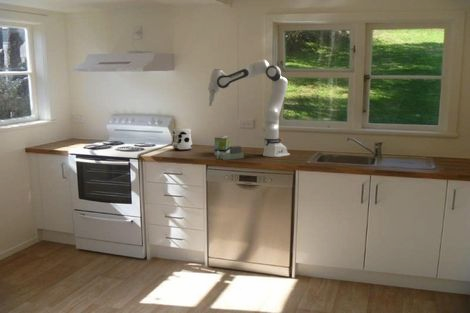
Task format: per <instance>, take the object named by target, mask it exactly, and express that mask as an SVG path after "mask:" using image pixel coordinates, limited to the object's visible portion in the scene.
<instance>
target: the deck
mask: <svg viewBox="0 0 470 313" xmlns="http://www.w3.org/2000/svg"><path fill="white" fill-rule="evenodd" d="M244 158H245V154H244V152H242V146H239V145H235V146H230V153H221V154H220V156H219V151H217V155H216V159H217V160H218V159H220V160H222V159H223V161H225V160H226V161H227V160H236V159H244Z"/></svg>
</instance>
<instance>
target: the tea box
mask: <svg viewBox="0 0 470 313" xmlns="http://www.w3.org/2000/svg"><path fill="white" fill-rule="evenodd" d="M230 147H231V136H230V135H218V136H215V137H214V156H217V151H219V157H220V154H221V153H230Z"/></svg>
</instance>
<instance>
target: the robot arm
mask: <svg viewBox="0 0 470 313" xmlns="http://www.w3.org/2000/svg"><path fill="white" fill-rule="evenodd" d="M263 74H264V75H266V77H267V78H268V79H269V80H271V81H272V82H273V86H272V89H271V93H270V96H269V99H268V103H267V106H266V110H265V113H264V117H265V118H264V140H263V141H264V147H263V148H264V149H263V154H262V156H263V157H270V158H271V157H272V158H273V157H274V158H280V157H286V156H287V157H288V156H290V155H291V153H289V152H288V148H287V146H285V145H284V144H283V143H281V142H283V138H280V136H279V135H280V133H279V131H280V129H279V128H280V120H279V119H280V114H281V112H282V111H281V110H282V107H283V103H284V100H285V96H286V94H287V90H288V84H289V81H288V79H287V78H286V77H284V76H282V69H281V68H280V67H279V66H277V65H274V64H273V65H270V63H269V62H268V61H267V60H266V59H260V60H256V61H253V62H251V63H249V64H248V65H247V64H246V66H244V67H243V68H241V69H239V70H238V71H235V72H233V73H231V74H226V73H225V72H224V71H223V70H222V69H216V68H215V69H213V70H212V72H211V75H210V78H209V80H210V82H209V83H208V89H207V90H208V92H209V102H208V106H209V107H212V105H213V102H214V101H215V96H216V94H217V93H218V92H219V91H220V89H226V88H230V87H231V86H232V85H233V83H234V82H236V81H239V80H242V79H251V78H255V77H258V76H260V75H263Z"/></svg>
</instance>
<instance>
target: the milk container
mask: <svg viewBox="0 0 470 313" xmlns="http://www.w3.org/2000/svg"><path fill="white" fill-rule="evenodd" d="M192 148H193V141H192V129H191V128H183V127H181V128H173V130H172V149H173V150H175V151H189V150H191V149H192Z"/></svg>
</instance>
